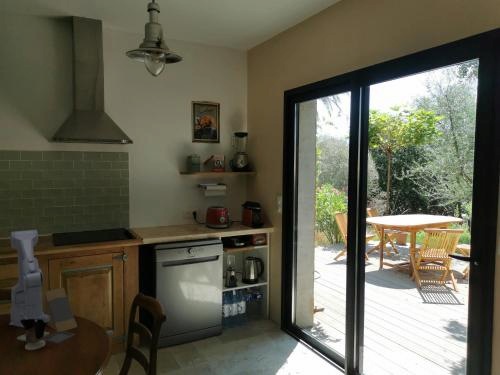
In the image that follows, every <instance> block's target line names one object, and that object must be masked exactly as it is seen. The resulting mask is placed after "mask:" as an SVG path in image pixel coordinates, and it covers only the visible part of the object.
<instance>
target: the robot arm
mask: <svg viewBox="0 0 500 375" xmlns="http://www.w3.org/2000/svg"><path fill="white" fill-rule="evenodd" d="M38 233H39V232H38V230H37V229H33V230H32V229H29V230H19V231H17V230H16V231H11V232H10V246H11V249H16V251H17V269H18V270H17V272H18V274H17V276H18V279H17V280H18V282H17V283H16V284H15V285H14V286H12V288H11V294H10V298H11V305H12V306H11V307H10V323H8V325H9V326H14V327H20V328H23V329H24V330H25V332H26V330H27V329H30V328H32V327H34V328H35V331H36V338H37V339H40V338H42V337H43V333H44V332H45V330H46V327H47V323H48V321H50V316H48V315H46V312H43V290H42V288H43V287H42V286H43V285H44V273H43V271H42V269H41V268H40V264H39V261H38V258H36V257H34V256H35V254H34V247H35V246H36V245H37V244H38V242H39V234H38Z"/></svg>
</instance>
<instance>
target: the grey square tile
mask: <svg viewBox="0 0 500 375" xmlns="http://www.w3.org/2000/svg"><path fill="white" fill-rule="evenodd" d="M75 336H76V334H75V333H71V332H68V331H59V332H57V331H56V332H54V333H53V334H51V335H50V334H49V335H47V336H45V337H44V339H43V340H44V341H45V342H47V343H51V344H55V345H59V344H61V343H63V342H65V341H68V340H70V339H72V338H73V337H75Z"/></svg>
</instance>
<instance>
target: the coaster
mask: <svg viewBox="0 0 500 375" xmlns="http://www.w3.org/2000/svg"><path fill="white" fill-rule="evenodd" d="M45 346H46V341H44V340H41V341H38V342H36V343H30V342H26V344H25V345H24V349H25V350H28V351H34V350H37V349H38V350H39V349H40V348H43V347H45Z"/></svg>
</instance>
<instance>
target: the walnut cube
mask: <svg viewBox="0 0 500 375" xmlns="http://www.w3.org/2000/svg"><path fill="white" fill-rule="evenodd" d="M25 334H26V341H25V342H26V343H29V342H30V343H36V342H38V341H41V340H43V339H44V338H45V337H44V333H43V337H42V338H40V339H37V338H36V331H35V328H34V327H32V328H30V329H27V330H26V331H25Z"/></svg>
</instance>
